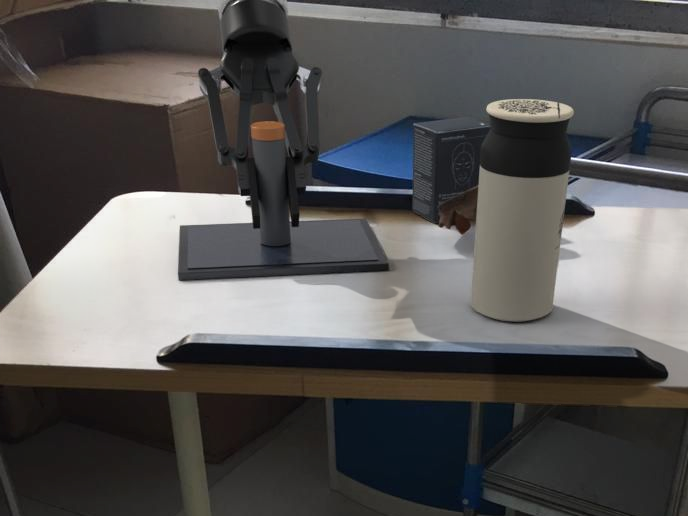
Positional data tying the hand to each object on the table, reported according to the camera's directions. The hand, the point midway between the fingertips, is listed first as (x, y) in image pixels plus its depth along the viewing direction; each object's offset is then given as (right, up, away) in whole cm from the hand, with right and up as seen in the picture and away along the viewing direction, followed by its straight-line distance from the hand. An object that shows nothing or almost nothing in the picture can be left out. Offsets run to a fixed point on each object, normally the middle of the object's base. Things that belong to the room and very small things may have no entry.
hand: (276, 221), depth 93 cm
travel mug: (+24, -11, -7) cm, 27 cm away
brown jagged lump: (+23, 0, +9) cm, 25 cm away
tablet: (0, -1, +6) cm, 6 cm away
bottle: (-1, 0, +5) cm, 5 cm away
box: (+19, +7, +18) cm, 27 cm away
